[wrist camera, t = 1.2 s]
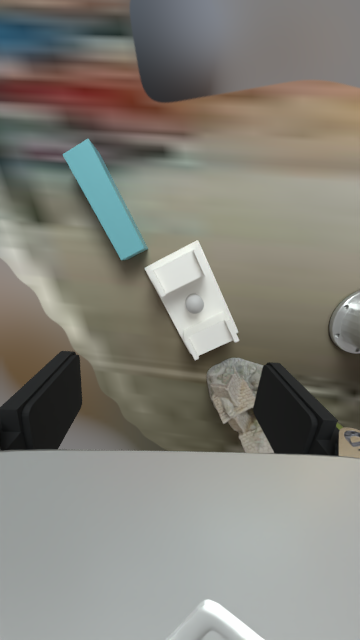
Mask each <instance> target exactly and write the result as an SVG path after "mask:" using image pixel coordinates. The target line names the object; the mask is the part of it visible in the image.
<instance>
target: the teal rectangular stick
mask: <svg viewBox="0 0 360 640" xmlns="http://www.w3.org/2000/svg"><path fill="white" fill-rule="evenodd" d="M63 156H64V158H65V160H66V161H67V163H68V165H69V167H70V169H71V170H72V172H73V174H74V176H75V178H76V179H77V181H78V183H79V185H80V187H81V188H82V190H83V192H84V194H85V196H86V197H87V199H88V201H89V203H90V205H91V207H92V208H93V210H94V212H95V214H96V216H97V217H98V219H99V221H100V223H101V225H102V226H103V228H104V230H105V232H106V234H107V235H108V237H109V239H110V241H111V243H112V244H113V246H114V248H115V250H116V252H117V253H118V255H119V257H120V259H121V260H128V259H130V258H132V257H134V256H135V255H137V254H139V253H141V252H143V251H145V250H147V249H148V248H147V246H146V244H145V242H144V240H143V238H142V236H141V234H140V232H139V230H138V228H137V226H136V224H135V222H134V220H133V218H132V216H131V214H130V212H129V210H128V208H127V206H126V204H125V202H124V200H123V198H122V197H121V195H120V193H119V191H118V189H117V187H116V185H115V183H114V181H113V179H112V177H111V175H110V173H109V171H108V169H107V167H106V165H105V163H104V161H103V159H102V157H101V155H100V153H99V152H98V151H97V149H96V148H95V147H94V145H93V144H92V143H91V141H90V140H89V139H87V140H85V141H83V142H82V143H80V144H79V145H77V146H75V147H74V148H72V149H71V150H69V151H67V152H66V153H64V154H63Z"/></svg>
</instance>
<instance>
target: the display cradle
mask: <svg viewBox="0 0 360 640" xmlns="http://www.w3.org/2000/svg"><path fill="white" fill-rule="evenodd" d="M145 270H146V272H147V274H148V276H149V278H150V280H151V282H152V283H153V285H154V287H155V289H156V291H157V293H158V295H159V296H160V298H161V300H162V302H163V304H164V306H165V308H166V310H167V311H168V313H169V315H170V317H171V319H172V321H173V323H174V325H175V326H176V328H177V330H178V332H179V334H180V336H181V338H182V340H183V341H184V343H185V345H186V347H187V349H188V351H189V353H190V354H192V356H193V358H194V360H197V359H199V355H201V354H204V353H206V352H208V351H210V350H213V349H215V348H217V347H219V346H221V345H224V344H226V343H228V342H230V341H233V340H234V342H237V341H239V339H238V337H237V334H236V333H238V330H237V328H236V325H235V323H234V321H233V319H232V316H231V314H230V312H229V309H228V307H227V305H226V303H225V300H224V298H223V296H222V293H221V291H220V289H219V287H218V284H217V282H216V280H215V278H214V275H213V273H212V271H211V268H210V266H209V264H208V262H207V259H206V257H205V255H204V253H203V250H202V248H201V246H200V243H199V241H198V240H197V241H195V242H193V243H191V244H189V245H187V246H185V247H184V248H182V249H180V250H178V251H176V252H174V253H172V254H170V255H168V256H166V257H164V258H163V259H161V260H159V261H157V262H155V263H153V264H151V265H149V266H147V267H145Z"/></svg>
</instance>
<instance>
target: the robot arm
mask: <svg viewBox="0 0 360 640" xmlns="http://www.w3.org/2000/svg"><path fill="white" fill-rule="evenodd" d="M329 332H330V337H331V339H332V341H333V342H334V343H335V345H336V346H338V347H339V348H341V349H342V350H344V351H346V352H349V353H355V354H359V353H360V291H357V292H355V293H353V294H351V295H350V296H348V297H347V298H345V299H344V300H343V301H342V302H341V303H340V304H339V305H338V306H337V308H336V309H335V311H334V313H333V315H332V317H331V320H330V325H329ZM81 405H82V392H81V376H80V358H79V355H76V353H75V352H70V351H61V352H60V353H59V354H58V355H56V356H55V357H54V358H53V359H52V360H51V361H50V362H49V363H48V364H47V365H46V366H45V367H44V368H42V369H41V370H40V371H39V372H38V373H37V374H36V375H35V376H34V377H33V378H32V379H30V380H29V381H28V382H27V383H26V384H25V385H24V386H23V387H22V388H21V389H20V390H19V391H18V392H17V393H15V394H14V395H13V396H12V397H11V398H10V399H9V400H8V401H7V402H6V403H4V404H3V405H2V406H1V407H0V640H360V430H357V429H354V428H349V427H345V428H341V429H340V430H339V429H338V428H337V427H336V424H337V422H338V420H337V419H336V418H335V417H334V416H333V415H332V414H331V413H330V412H329V411H328V410H327V409H326V408H325V407H324V406H323V405H322V404H321V403H320V402H319V401H318V400H317V399H315V398H314V397H313V396H312V395H311V394H310V393H309V392H308V391H307V390H306V389H305V388H304V387H303V386H302V385H301V384H300V383H299V382H298V381H297V380H296V379H295V378H294V377H293V376H292V375H291V374H290V373H289V372H288V371H287V370H286V369H285V368H284V367H283V366H282V365H281V364H280V363H267V364H266V365H264V366H263V368H262V373H261V377H260V381H259V385H258V389H257V394H256V398H255V402H254V406H253V413H254V416H255V417H256V419H257V421H258V423H259V425H260V427H261V429H262V431H263V432H264V434H265V436H266V438H267V440H268V442H269V444H270V446H271V447H272V449H273V451H274V453H234V452H185V451H133V450H132V451H131V450H130V451H129V450H67V449H62V450H61V449H58V448H59V446H60V444H61V442H62V441H63V439H64V437H65V435H66V433H67V431H68V429H69V428H70V426H71V424H72V423H73V421H74V419H75V417H76V416H77V414H78V412H79V410H80V408H81Z"/></svg>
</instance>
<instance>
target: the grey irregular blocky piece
mask: <svg viewBox="0 0 360 640" xmlns="http://www.w3.org/2000/svg"><path fill="white" fill-rule="evenodd" d="M262 368H263V365H259V364H256V363H253V362H250V361H246V360H243V359H240V358H229V359H226V360H224V361H223V362H222V363H220V364H216V365H215V366H213V367H211V368H210V369H209V371H208V372H207V383H208V389H209V395H210V398H211V401H212V402H213V405H214V407H215V408H216V409H217V411H218V413H219V416H220V418H221V420H222V422H223V424H225V423H226V422H228V423H229V425H230V426H231V427H232V428H233V429H234V431H237V432H238V433H239V439H240V440H241V444H242V446H243V449H244V451H245V452H246V453H274V451H273V449H272V447H271V446H270V444H269V442H268V440H267V438H266V436H265V434H264V432H263V431H262V429H261V427H260V425H259V423H258V421H257V419H256V417H255V416H254V413H253V406H254V402H255V398H256V394H257V389H258V385H259V381H260V377H261V373H262Z"/></svg>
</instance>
